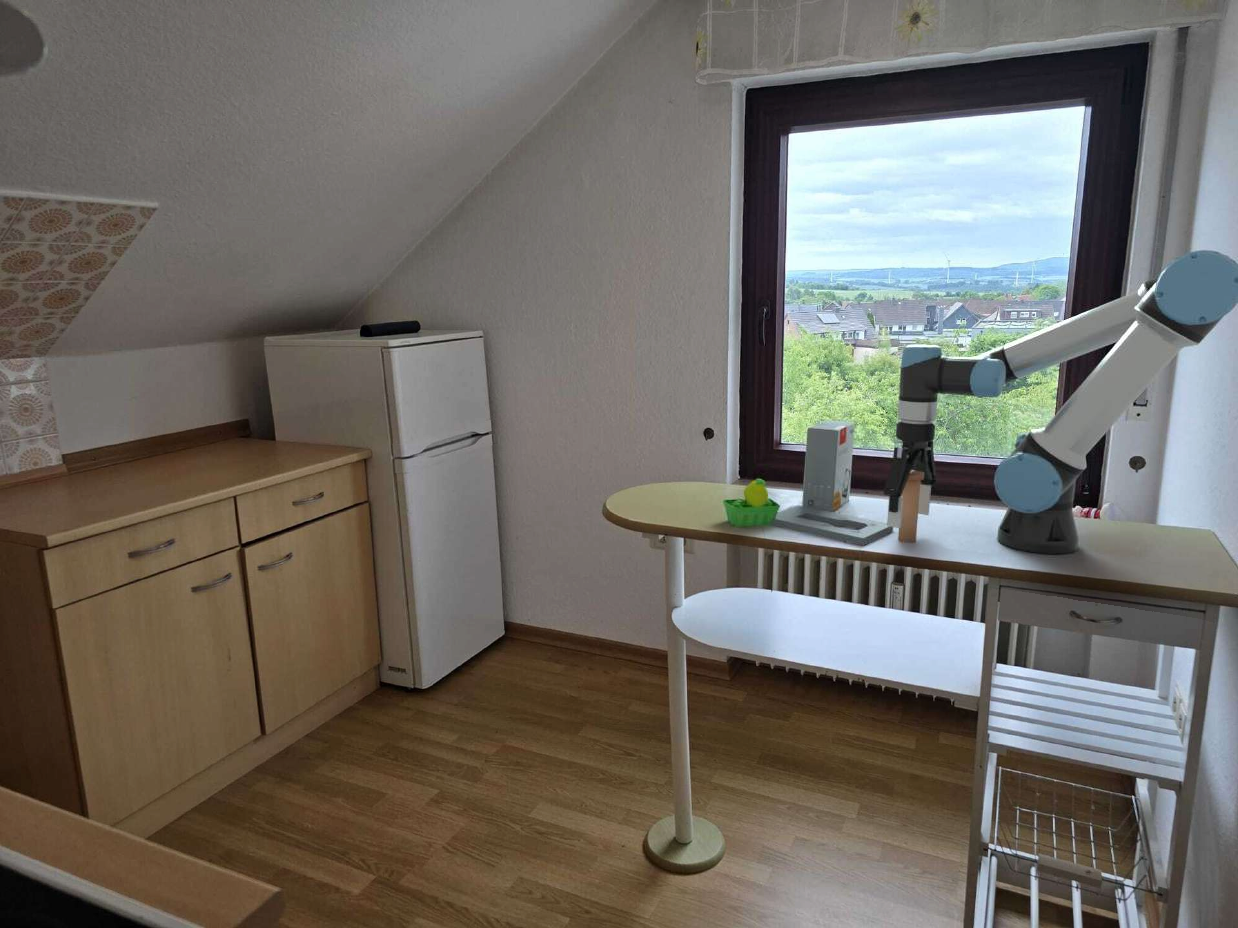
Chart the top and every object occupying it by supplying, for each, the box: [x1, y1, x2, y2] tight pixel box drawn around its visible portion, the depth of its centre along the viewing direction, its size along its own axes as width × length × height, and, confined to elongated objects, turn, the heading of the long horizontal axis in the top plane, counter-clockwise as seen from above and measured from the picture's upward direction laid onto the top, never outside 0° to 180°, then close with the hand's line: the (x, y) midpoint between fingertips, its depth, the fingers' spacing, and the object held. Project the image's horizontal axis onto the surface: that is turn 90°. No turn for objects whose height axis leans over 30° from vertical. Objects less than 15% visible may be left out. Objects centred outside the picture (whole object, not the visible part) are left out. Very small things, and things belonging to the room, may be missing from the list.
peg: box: [897, 469, 924, 543], centre depth 176 cm, size 5×5×15 cm
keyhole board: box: [771, 504, 894, 546], centre depth 187 cm, size 24×14×2 cm, turn 47°
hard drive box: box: [801, 419, 856, 512], centre depth 204 cm, size 16×8×20 cm, turn 150°
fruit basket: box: [722, 478, 781, 528], centre depth 189 cm, size 11×9×11 cm
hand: (908, 520), depth 177 cm, fingers open, 13 cm apart
